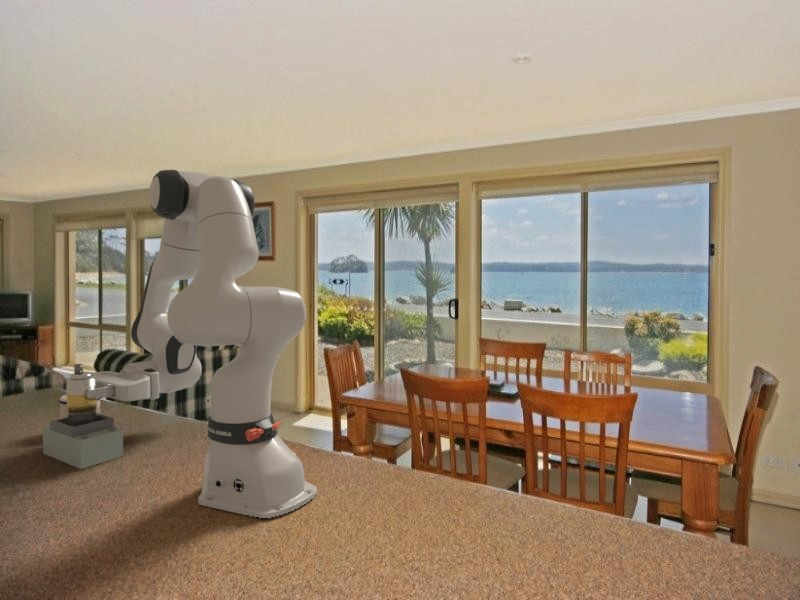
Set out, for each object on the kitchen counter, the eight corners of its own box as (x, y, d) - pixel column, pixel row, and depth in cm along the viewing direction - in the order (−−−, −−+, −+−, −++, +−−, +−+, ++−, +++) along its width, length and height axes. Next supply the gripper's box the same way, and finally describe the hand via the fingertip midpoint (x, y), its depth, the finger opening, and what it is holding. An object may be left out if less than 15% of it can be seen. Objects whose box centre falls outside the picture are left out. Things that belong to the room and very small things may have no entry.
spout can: (102, 421, 118) (101, 364, 117) (76, 428, 113) (74, 368, 112) (88, 417, 121) (87, 361, 120) (62, 423, 116) (60, 365, 115)
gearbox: (123, 456, 117) (122, 421, 117) (81, 469, 110) (80, 431, 109) (76, 439, 128) (75, 406, 127) (34, 449, 120) (33, 415, 120)
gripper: (113, 363, 133) (53, 372, 121) (162, 373, 122) (102, 383, 110) (113, 387, 133) (54, 399, 122) (163, 399, 123) (103, 413, 111)
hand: (77, 391), depth 116 cm, fingers open, 6 cm apart
